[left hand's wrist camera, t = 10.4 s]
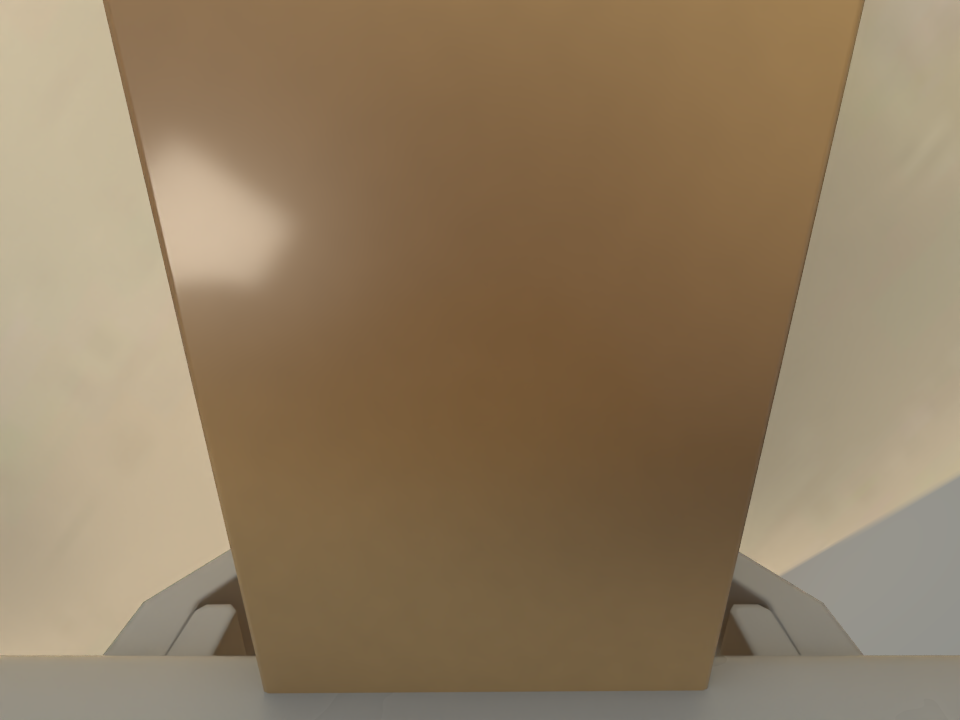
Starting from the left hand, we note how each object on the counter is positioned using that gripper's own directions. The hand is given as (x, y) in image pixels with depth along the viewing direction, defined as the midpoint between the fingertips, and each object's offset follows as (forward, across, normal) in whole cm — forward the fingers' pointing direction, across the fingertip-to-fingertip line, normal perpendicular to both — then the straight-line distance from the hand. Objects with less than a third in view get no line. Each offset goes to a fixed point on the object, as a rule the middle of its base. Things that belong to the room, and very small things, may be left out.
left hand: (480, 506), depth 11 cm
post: (+3, 0, -36) cm, 36 cm away
